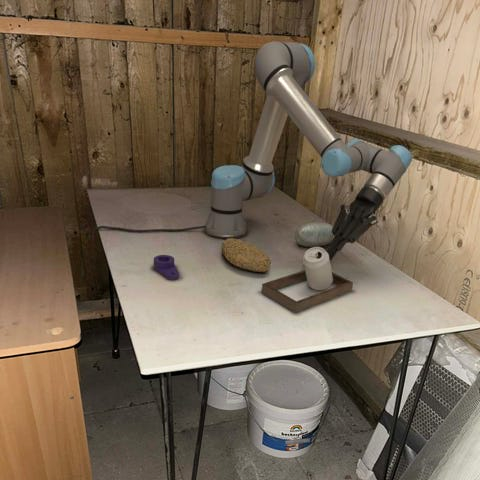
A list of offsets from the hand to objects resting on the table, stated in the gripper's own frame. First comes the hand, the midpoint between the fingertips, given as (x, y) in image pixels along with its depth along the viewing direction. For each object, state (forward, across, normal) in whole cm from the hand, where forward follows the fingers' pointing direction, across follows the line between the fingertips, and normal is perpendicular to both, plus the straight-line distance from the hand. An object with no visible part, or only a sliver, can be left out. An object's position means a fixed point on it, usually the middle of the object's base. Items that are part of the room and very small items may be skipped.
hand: (327, 257), depth 140 cm
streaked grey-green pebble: (-9, +25, -23) cm, 35 cm away
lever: (+31, +34, +17) cm, 49 cm away
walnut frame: (+11, 0, -2) cm, 12 cm away
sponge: (+14, +25, 0) cm, 29 cm away
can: (+6, 0, -5) cm, 8 cm away
